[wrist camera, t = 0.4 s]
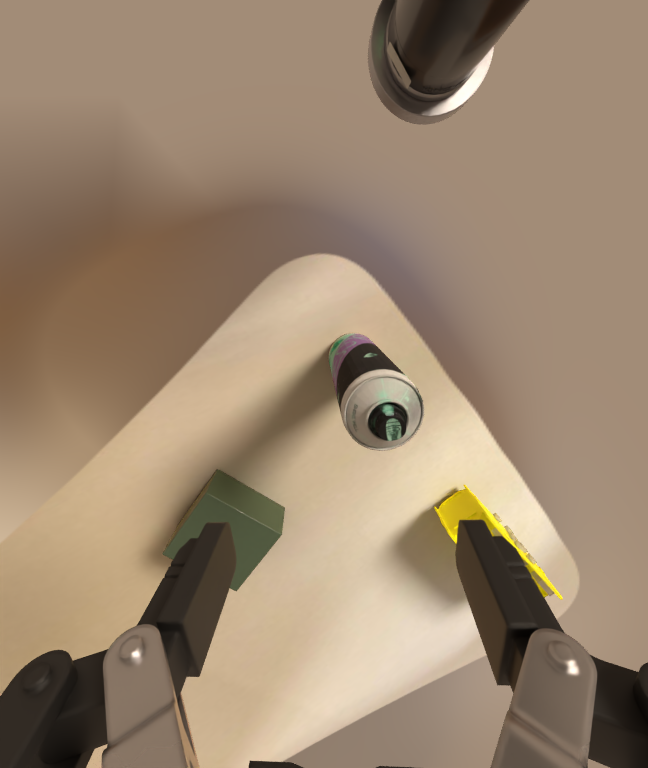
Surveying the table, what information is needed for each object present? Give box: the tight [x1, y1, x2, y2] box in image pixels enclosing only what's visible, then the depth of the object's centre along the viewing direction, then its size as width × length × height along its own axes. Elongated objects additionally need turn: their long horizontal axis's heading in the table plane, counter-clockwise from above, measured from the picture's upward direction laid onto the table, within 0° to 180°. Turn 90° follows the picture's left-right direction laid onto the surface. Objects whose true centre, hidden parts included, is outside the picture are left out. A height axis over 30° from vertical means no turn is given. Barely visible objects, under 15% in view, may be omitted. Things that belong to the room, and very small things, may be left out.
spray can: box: [329, 333, 424, 451], centre depth 30 cm, size 6×6×20 cm
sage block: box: [163, 469, 285, 591], centre depth 43 cm, size 10×10×5 cm
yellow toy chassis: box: [434, 485, 563, 600], centre depth 43 cm, size 16×6×8 cm, turn 42°
